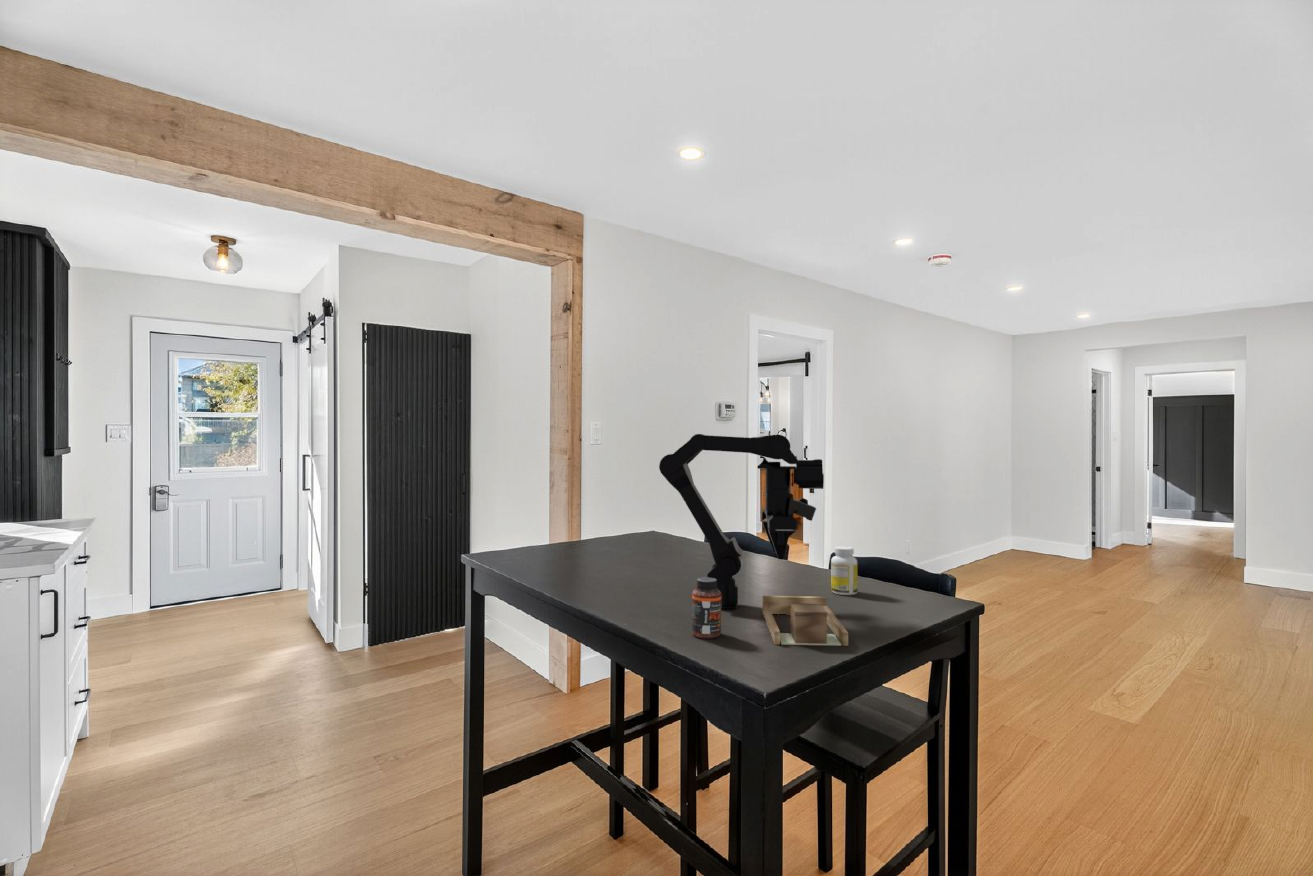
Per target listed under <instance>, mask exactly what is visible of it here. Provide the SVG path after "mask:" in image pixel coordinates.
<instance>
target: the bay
mask: <svg viewBox="0 0 1313 876" xmlns="http://www.w3.org/2000/svg"><path fill="white" fill-rule="evenodd" d="M790 604H821V605H822V607H823V608H824V609H825V611H826V612H827V626H828V627H829V628H830V630H831V631H832V633H833V634H835V636H837V639H838V640H839V641H840V643H841V646H845V647H847V646H849V632H848V631H847V629H846V628H845V627H844V626H843V624H842V623H841V622H840V620H839V619H838V618H837V616H836V615H835V614H834V613H833V612H832V610H831V609H830V608H829V606H828V605H827V597H826V596H812V595H811V596H810V595H809V596H804V595H803V596H800V595H797V596H796V595H795V596H794V595H786V596H785V595H762V615H764V616H763V618H764V620H766V621H765V623H766V625H767V628H769V629H768V631H769V634H770V633H771V634H770V636H771V639H772V641H774V642H773V643H774V644H773V645H780V644H781V642H780V633H781V632H780V631H781V630H780V629H779V627H778V624H777V622H776V619H775V617H774V615H772V614H778V615H777V616H780V615H779V614H786V615H785V616H791V608H790Z"/></svg>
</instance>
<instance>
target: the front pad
mask: <svg viewBox="0 0 1313 876" xmlns="http://www.w3.org/2000/svg"><path fill="white" fill-rule="evenodd" d="M780 644H781V645H785V646H786V645H790V646H791V645H795V646H796V645H797V646H837V647H838V646H842V644H841V642H840V641H839V639H838V638H837V637H836V635H835V634H834V633H827V644H816V643H795V641H794V639H793V637H792V635H791V632H789V633H788V632H785V633H784V632H780Z"/></svg>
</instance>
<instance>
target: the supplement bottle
mask: <svg viewBox="0 0 1313 876" xmlns="http://www.w3.org/2000/svg"><path fill="white" fill-rule="evenodd" d="M716 586H717V580H716V579H715V578H708V576H707V577H704V576H703V577H699V578H697V579H696V588H695V589H693V591H692V597H691V600H692V601H691V603H692V604H691V605H692V606H691V633H692V635H693V636H694V637H696V638H699V639H704V640H705V639H707V640H708V639H714V638H715V639H716V638H718V637H720V636H721V633H722V609H721V592H720V590H718V588H717V587H716Z"/></svg>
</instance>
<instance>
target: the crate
mask: <svg viewBox="0 0 1313 876" xmlns="http://www.w3.org/2000/svg"><path fill="white" fill-rule="evenodd" d="M790 608H791V615H790V633H791V635H792V637H793V639H794V641H795V643H816V644H827V634H828V624H827V612H826V611H825V609H824V608H823V607H822V605H821V604H790Z"/></svg>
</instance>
